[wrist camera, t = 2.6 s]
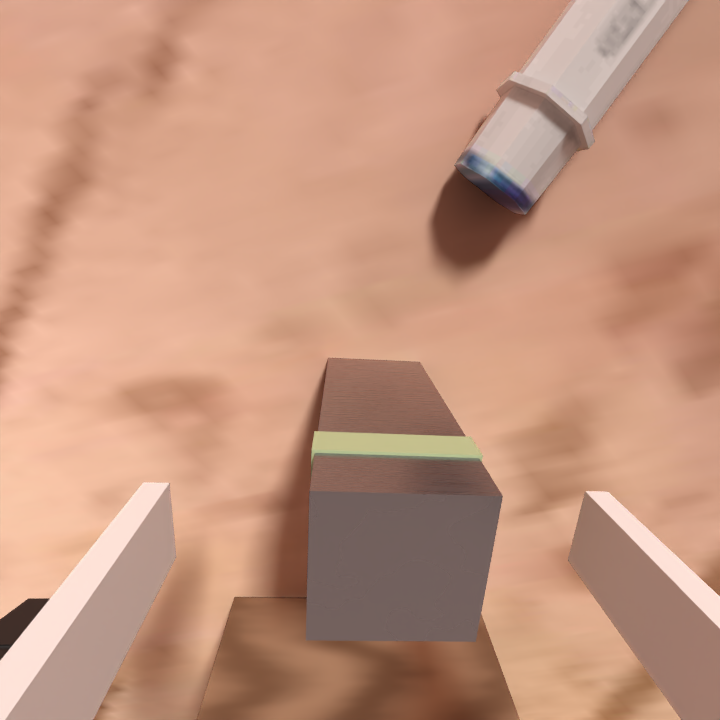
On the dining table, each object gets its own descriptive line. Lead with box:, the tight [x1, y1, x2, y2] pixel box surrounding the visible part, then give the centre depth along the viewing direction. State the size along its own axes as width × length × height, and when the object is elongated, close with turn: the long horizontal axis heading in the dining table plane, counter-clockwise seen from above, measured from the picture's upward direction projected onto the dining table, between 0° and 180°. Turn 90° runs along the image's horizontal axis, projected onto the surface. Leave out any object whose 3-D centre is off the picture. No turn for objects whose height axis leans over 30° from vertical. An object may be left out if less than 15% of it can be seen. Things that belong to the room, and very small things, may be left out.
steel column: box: [306, 358, 503, 642], centre depth 17 cm, size 5×5×12 cm
